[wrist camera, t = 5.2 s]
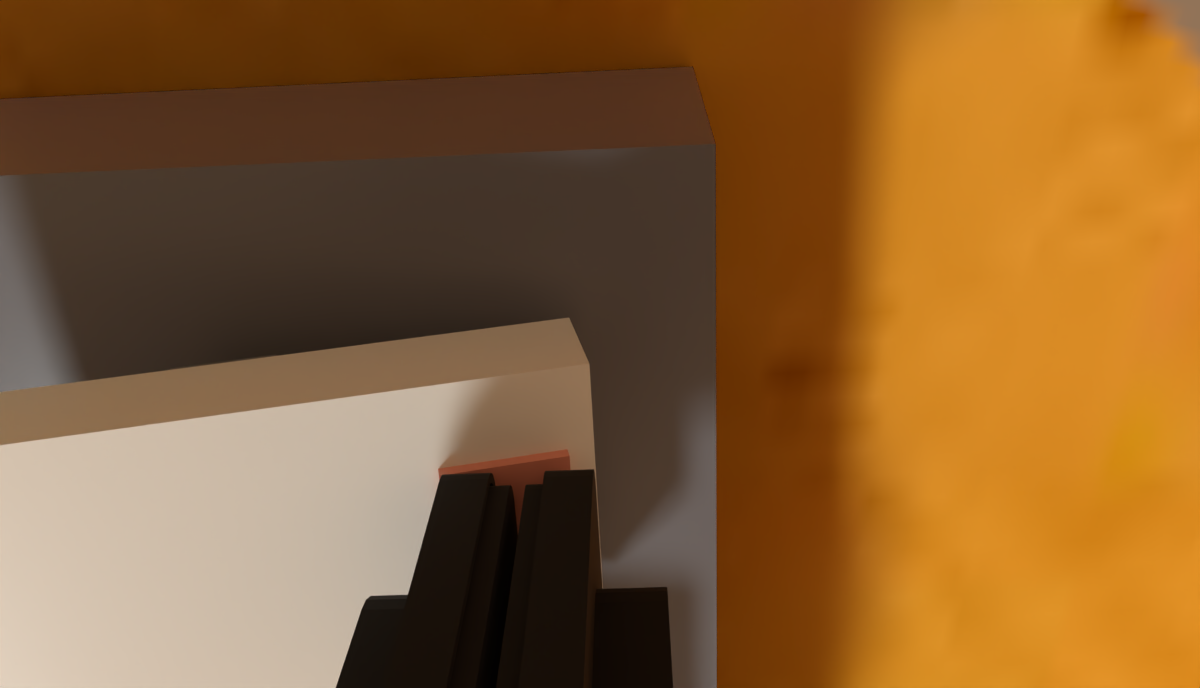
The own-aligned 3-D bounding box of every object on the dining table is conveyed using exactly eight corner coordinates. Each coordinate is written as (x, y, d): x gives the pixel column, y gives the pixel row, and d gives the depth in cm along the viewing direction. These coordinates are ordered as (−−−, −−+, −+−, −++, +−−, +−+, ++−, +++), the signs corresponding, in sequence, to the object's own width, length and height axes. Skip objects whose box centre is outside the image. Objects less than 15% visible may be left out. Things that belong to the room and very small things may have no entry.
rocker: (-160, 378, 12) (-260, 488, 10) (556, 288, 13) (591, 370, 11) (-37, 681, 14) (-101, 823, 12) (577, 577, 15) (611, 690, 13)
